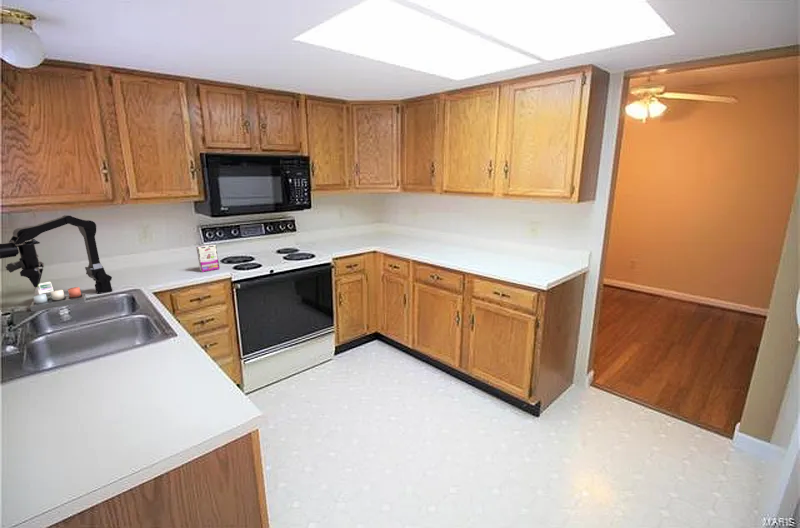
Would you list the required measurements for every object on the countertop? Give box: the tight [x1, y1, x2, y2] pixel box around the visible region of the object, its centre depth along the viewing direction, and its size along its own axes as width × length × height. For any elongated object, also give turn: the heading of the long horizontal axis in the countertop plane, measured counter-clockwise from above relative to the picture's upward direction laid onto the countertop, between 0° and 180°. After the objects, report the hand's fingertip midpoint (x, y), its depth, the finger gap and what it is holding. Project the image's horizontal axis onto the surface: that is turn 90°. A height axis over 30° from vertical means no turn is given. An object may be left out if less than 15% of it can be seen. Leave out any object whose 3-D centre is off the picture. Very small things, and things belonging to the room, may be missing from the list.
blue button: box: [32, 294, 48, 304], centre depth 184 cm, size 5×5×4 cm
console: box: [29, 292, 87, 312], centre depth 188 cm, size 20×10×2 cm, turn 127°
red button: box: [67, 286, 82, 298], centre depth 191 cm, size 5×5×4 cm
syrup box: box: [33, 281, 55, 299], centre depth 192 cm, size 6×6×14 cm
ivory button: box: [51, 289, 66, 300], centre depth 188 cm, size 5×5×4 cm
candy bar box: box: [195, 244, 220, 273], centre depth 247 cm, size 11×5×16 cm, turn 131°
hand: (36, 285), depth 182 cm, fingers open, 5 cm apart
